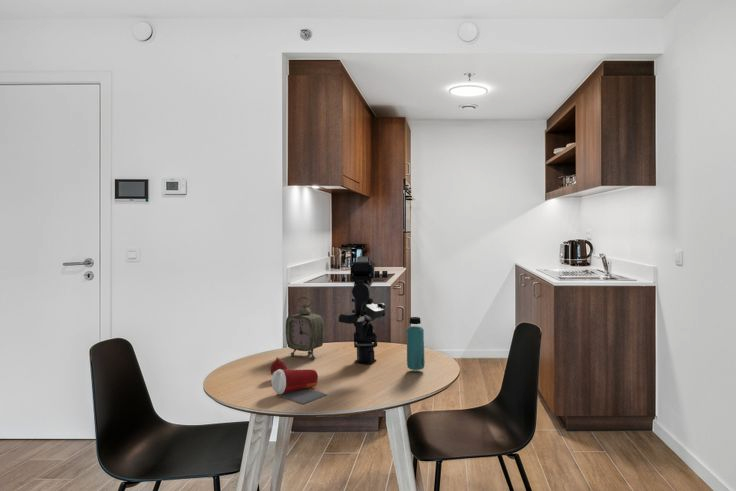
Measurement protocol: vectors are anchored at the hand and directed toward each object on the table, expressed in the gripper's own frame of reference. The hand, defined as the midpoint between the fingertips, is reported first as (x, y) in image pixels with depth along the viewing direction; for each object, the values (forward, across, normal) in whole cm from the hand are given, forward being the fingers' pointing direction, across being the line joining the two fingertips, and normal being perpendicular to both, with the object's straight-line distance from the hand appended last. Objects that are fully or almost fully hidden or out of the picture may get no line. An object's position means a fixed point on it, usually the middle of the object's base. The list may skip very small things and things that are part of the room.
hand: (362, 338), depth 169 cm
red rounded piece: (+13, -24, +19) cm, 33 cm away
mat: (+13, -28, 0) cm, 31 cm away
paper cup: (+10, -20, +4) cm, 23 cm away
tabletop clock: (+13, +2, +35) cm, 38 cm away
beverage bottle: (+13, +14, -12) cm, 23 cm away
